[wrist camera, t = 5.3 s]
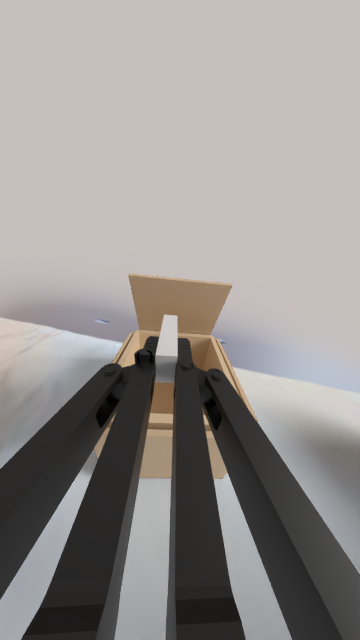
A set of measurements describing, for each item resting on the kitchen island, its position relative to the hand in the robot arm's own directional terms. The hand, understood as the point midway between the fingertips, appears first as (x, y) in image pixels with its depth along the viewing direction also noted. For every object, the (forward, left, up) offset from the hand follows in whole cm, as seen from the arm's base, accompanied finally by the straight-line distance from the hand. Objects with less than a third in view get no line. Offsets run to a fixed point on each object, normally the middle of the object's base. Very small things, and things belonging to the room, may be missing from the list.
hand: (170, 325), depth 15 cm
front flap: (-1, -10, -7) cm, 12 cm away
